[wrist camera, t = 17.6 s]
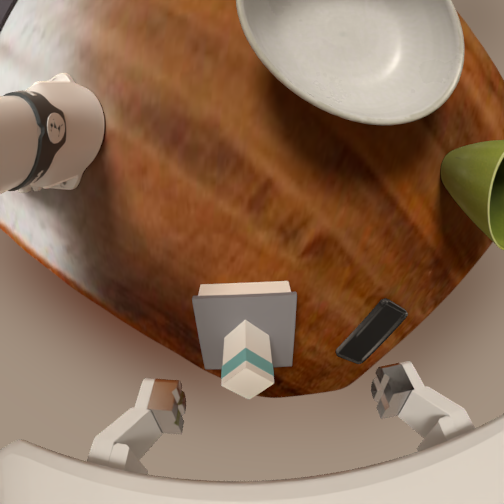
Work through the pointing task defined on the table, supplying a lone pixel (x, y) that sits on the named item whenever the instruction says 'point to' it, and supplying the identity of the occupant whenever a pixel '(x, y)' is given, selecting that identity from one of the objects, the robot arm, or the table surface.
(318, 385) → the table surface
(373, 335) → the phone
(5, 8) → the notebook
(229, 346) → the carton
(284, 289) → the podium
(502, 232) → the flower pot
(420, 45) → the decorative bowl
